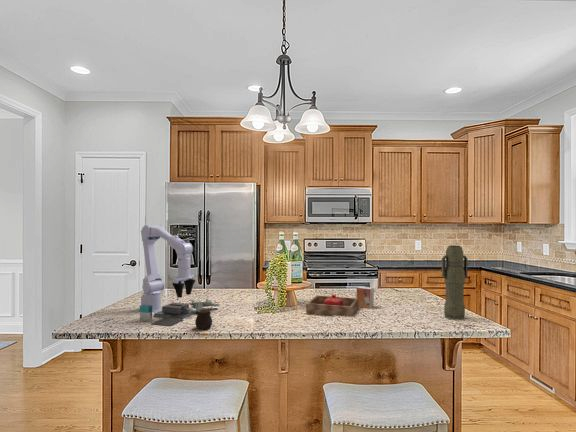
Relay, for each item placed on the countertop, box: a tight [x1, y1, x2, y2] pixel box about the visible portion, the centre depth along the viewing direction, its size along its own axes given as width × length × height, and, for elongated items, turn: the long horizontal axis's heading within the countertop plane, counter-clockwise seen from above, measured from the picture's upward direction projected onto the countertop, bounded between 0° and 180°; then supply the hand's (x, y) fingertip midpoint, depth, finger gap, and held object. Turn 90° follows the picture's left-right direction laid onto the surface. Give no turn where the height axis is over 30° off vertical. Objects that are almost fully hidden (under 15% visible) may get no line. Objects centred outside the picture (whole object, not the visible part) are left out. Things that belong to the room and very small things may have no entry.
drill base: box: [153, 310, 197, 320], centre depth 187 cm, size 16×12×2 cm
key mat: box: [150, 318, 184, 327], centre depth 173 cm, size 10×10×1 cm
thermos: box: [441, 244, 469, 321], centre depth 180 cm, size 9×12×35 cm
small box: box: [355, 286, 375, 309], centre depth 205 cm, size 8×6×10 cm
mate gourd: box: [194, 306, 214, 331], centre depth 163 cm, size 7×8×10 cm
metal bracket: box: [187, 298, 221, 311], centre depth 195 cm, size 14×6×15 cm
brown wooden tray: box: [305, 295, 360, 317], centre depth 197 cm, size 23×21×5 cm
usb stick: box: [139, 304, 153, 322], centre depth 177 cm, size 6×2×7 cm, turn 71°
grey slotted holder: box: [161, 302, 197, 314], centre depth 185 cm, size 16×9×3 cm, turn 71°
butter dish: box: [324, 293, 344, 306], centre depth 197 cm, size 12×12×8 cm
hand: (184, 295), depth 184 cm, fingers open, 7 cm apart
